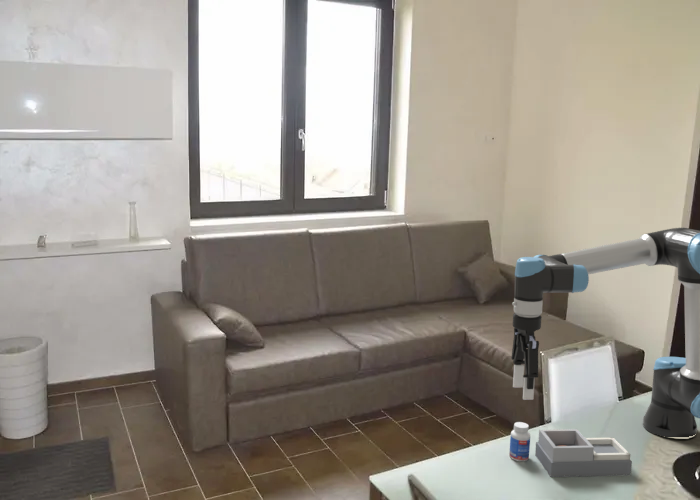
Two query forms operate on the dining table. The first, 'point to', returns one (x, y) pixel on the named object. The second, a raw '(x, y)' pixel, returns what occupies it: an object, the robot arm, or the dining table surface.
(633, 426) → the dining table surface
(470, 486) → the dining table surface
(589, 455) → the grey compartment organizer
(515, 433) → the pill bottle
